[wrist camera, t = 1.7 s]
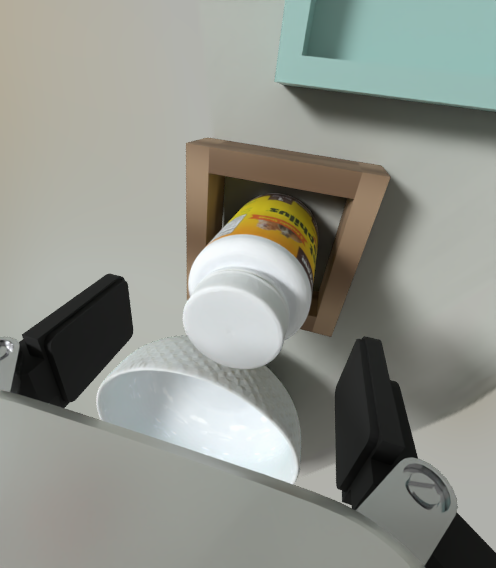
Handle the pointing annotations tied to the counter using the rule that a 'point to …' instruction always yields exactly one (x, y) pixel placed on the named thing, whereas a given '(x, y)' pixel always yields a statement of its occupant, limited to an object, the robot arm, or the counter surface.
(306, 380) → the counter surface
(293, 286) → the supplement bottle
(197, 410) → the cereal bowl
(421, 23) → the tray
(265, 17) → the counter surface
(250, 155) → the socket block
